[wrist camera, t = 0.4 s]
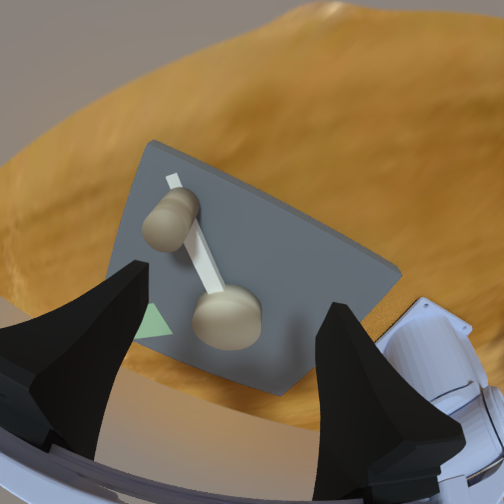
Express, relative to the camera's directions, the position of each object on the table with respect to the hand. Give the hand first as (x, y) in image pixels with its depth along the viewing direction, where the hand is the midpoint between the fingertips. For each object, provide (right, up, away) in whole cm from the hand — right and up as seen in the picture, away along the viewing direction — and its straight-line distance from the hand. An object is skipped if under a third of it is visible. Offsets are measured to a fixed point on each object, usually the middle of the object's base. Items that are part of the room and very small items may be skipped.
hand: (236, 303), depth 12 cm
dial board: (-1, -2, +13) cm, 13 cm away
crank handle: (-2, +1, +10) cm, 10 cm away
